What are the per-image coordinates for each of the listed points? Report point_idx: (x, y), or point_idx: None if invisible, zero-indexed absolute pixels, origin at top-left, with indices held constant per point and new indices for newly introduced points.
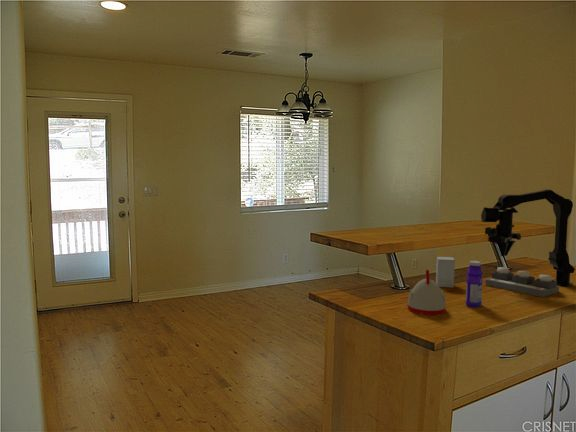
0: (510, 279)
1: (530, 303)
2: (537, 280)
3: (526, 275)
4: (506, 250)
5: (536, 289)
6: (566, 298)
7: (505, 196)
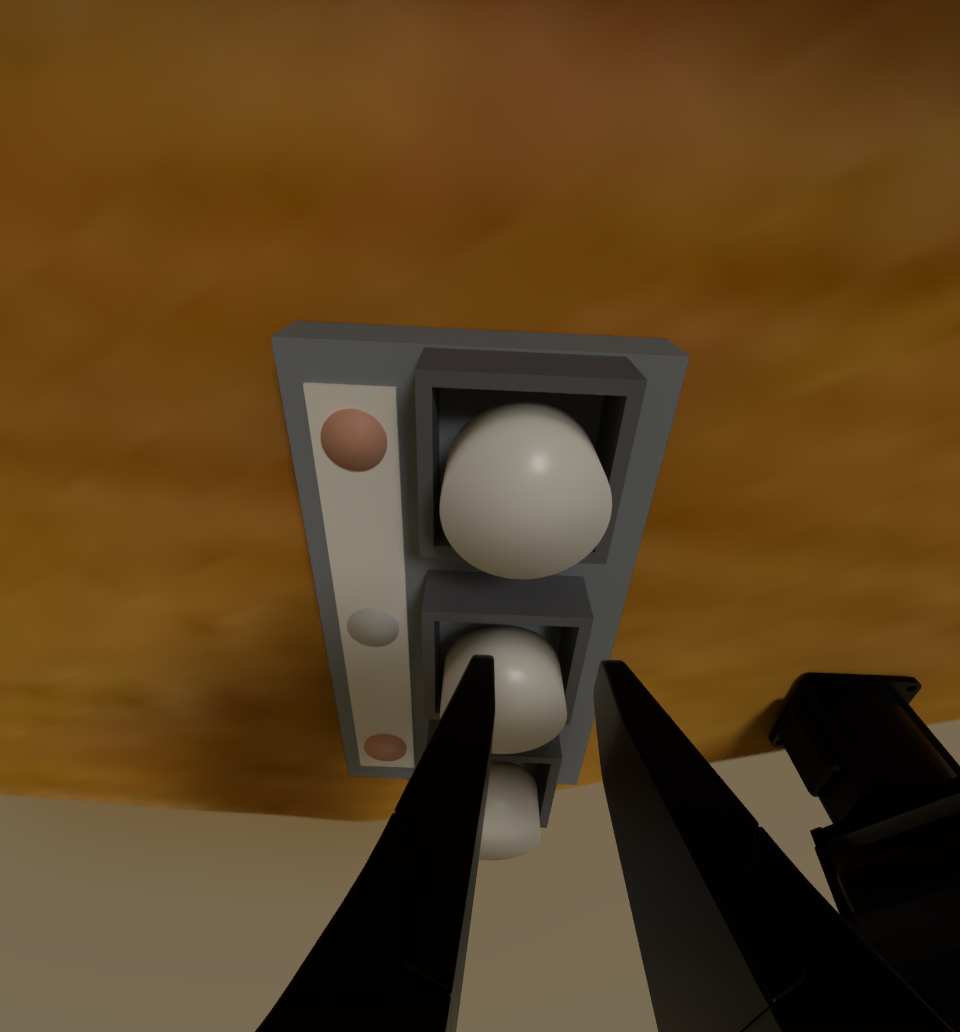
0: None
1: (152, 740)
2: None
3: None
4: (627, 826)
5: (349, 744)
6: None
7: None
